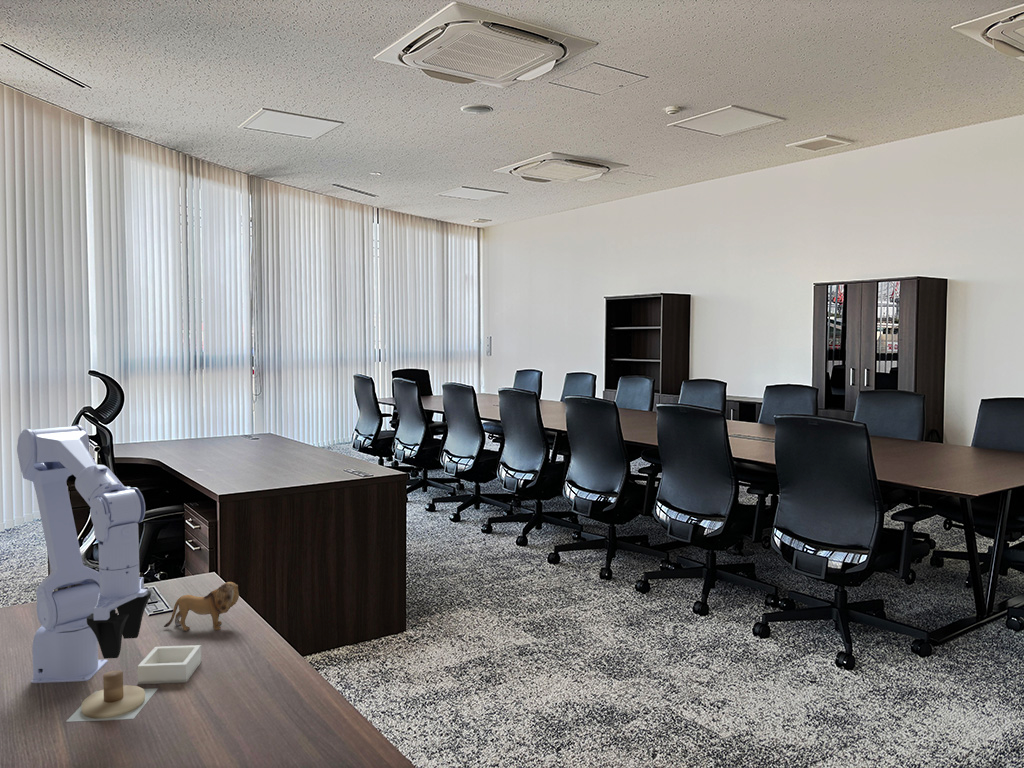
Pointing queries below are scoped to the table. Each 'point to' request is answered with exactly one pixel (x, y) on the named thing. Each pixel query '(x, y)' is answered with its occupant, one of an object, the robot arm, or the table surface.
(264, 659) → the table surface
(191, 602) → the lion figurine
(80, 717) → the mat
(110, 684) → the lid
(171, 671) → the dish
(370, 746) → the table surface
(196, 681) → the table surface
